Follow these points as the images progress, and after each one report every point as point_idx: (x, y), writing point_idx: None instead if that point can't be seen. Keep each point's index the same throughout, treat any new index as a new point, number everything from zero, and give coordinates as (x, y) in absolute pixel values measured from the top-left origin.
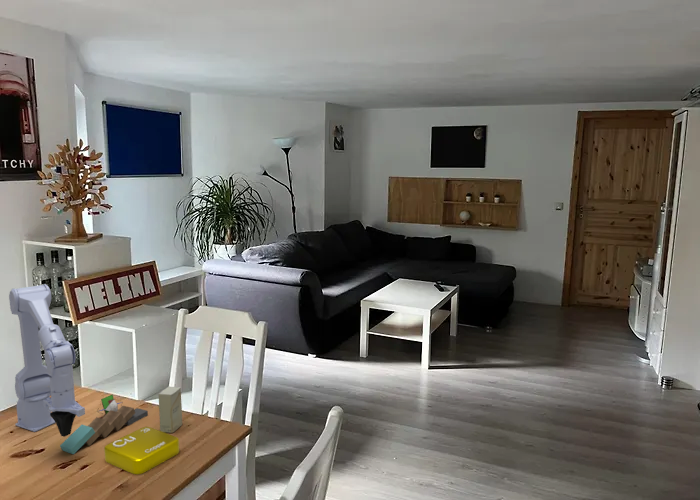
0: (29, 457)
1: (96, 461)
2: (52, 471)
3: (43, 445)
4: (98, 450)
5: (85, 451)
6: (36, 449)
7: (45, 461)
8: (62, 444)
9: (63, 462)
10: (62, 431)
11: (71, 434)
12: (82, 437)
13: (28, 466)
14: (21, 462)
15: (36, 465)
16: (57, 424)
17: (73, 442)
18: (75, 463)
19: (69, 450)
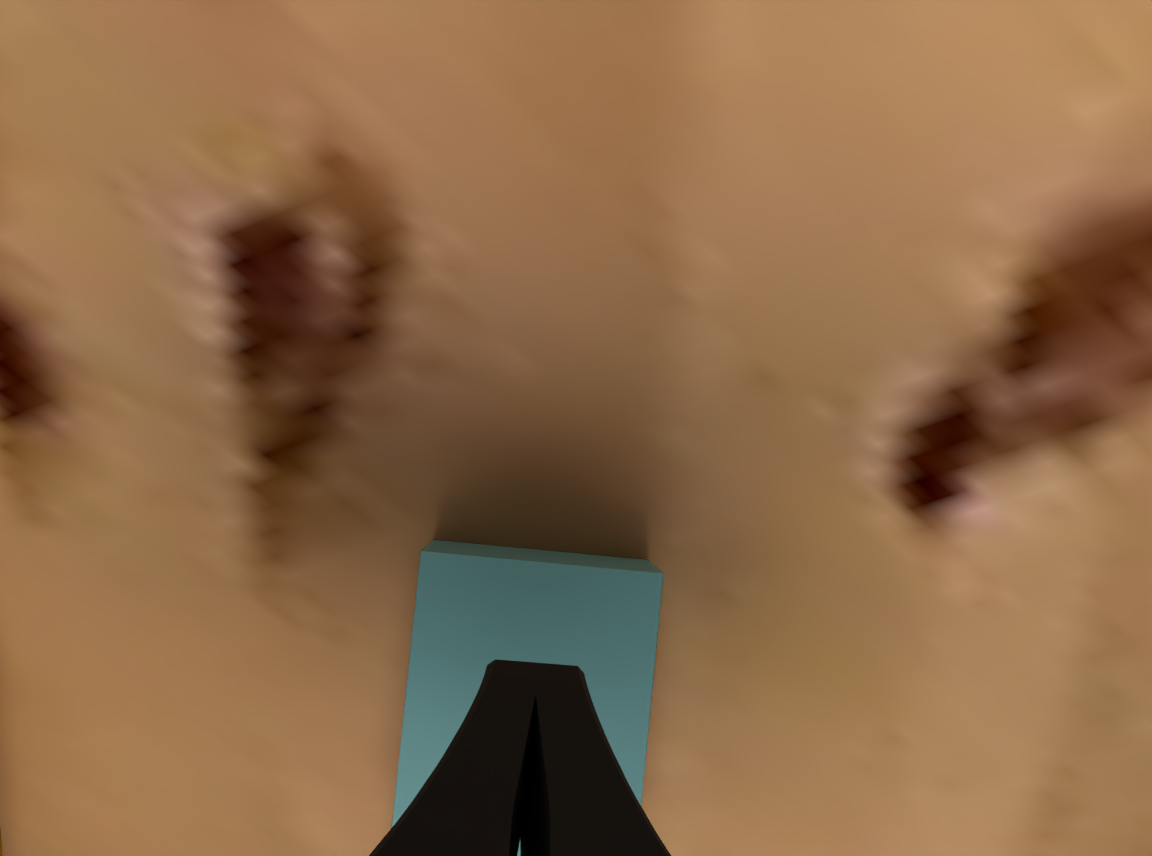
0: (954, 269)
1: (3, 517)
2: (296, 93)
3: (999, 565)
4: (232, 704)
5: (357, 639)
6: (1018, 462)
7: (638, 271)
8: (635, 603)
9: (375, 344)
10: (479, 722)
11: (641, 798)
12: (402, 790)
13: (767, 63)
14: (966, 113)
15: (672, 134)
16: (610, 837)
17: (481, 675)
18: (201, 384)
19: (470, 551)
